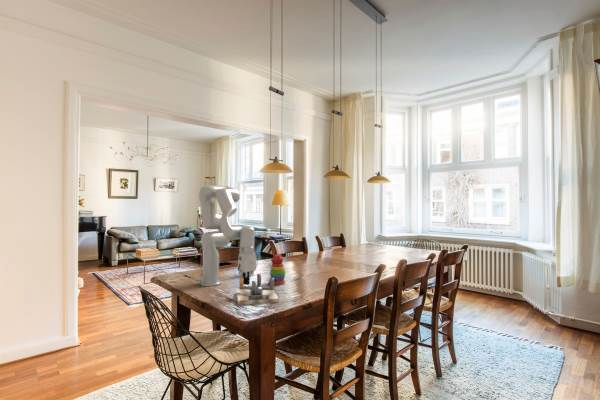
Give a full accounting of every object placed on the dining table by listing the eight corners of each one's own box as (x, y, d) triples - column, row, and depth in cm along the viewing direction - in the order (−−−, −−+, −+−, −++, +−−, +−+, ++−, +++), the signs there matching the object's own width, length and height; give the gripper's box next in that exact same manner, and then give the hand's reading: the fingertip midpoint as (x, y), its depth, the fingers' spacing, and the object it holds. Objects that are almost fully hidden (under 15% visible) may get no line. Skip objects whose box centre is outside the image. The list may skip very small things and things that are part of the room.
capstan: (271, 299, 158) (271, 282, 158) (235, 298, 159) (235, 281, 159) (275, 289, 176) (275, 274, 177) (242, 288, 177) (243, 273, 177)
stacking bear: (269, 280, 204) (270, 252, 204) (285, 281, 204) (286, 253, 204) (267, 285, 194) (268, 255, 194) (284, 285, 193) (284, 256, 193)
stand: (237, 305, 155) (237, 297, 155) (235, 293, 175) (235, 286, 175) (278, 302, 160) (279, 295, 160) (272, 291, 180) (272, 284, 180)
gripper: (241, 252, 163) (240, 288, 163) (261, 249, 175) (261, 282, 175) (231, 250, 168) (230, 285, 168) (252, 247, 180) (251, 280, 180)
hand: (246, 284), depth 171 cm, fingers closed
